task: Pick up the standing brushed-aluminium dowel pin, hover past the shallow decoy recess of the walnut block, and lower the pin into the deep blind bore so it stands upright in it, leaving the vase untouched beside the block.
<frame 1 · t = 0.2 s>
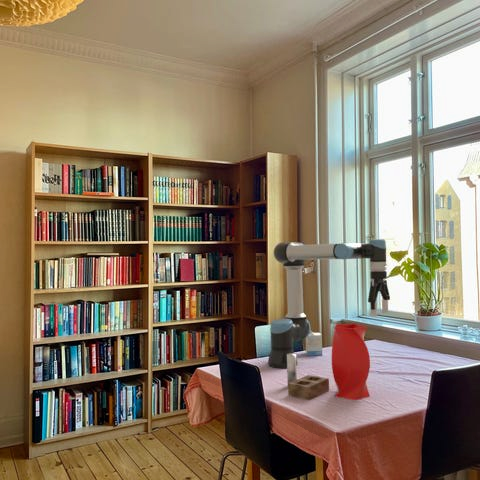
hand: (379, 314, 222), 28 cm above the table, fingers open, 13 cm apart
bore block: (309, 392, 193), on the table
vase: (350, 394, 190), on the table
pin: (292, 386, 203), on the table
ink box: (314, 354, 267), on the table
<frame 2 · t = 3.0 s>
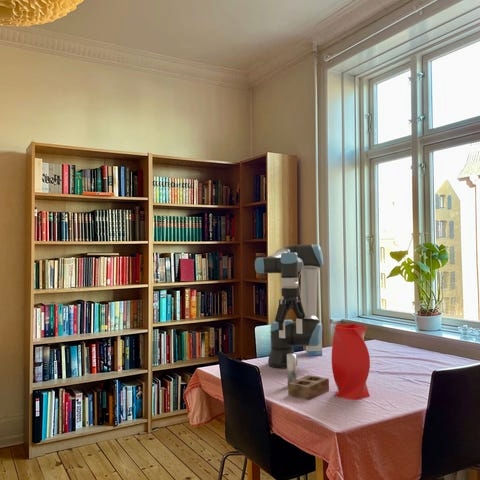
hand: (291, 335, 203), 22 cm above the table, fingers open, 13 cm apart
nothing on the table moved.
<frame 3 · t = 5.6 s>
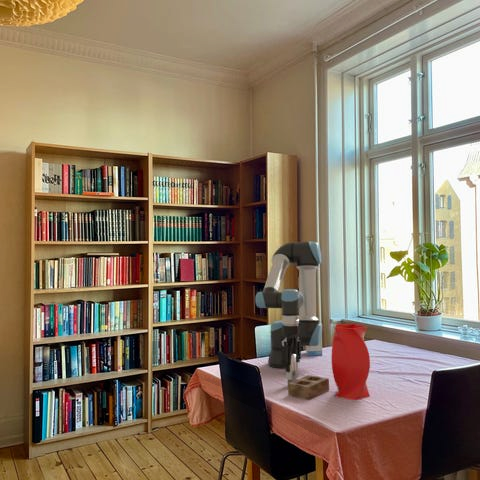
hand: (292, 377, 203), 4 cm above the table, fingers closed on pin, 4 cm apart
pin: (292, 386, 203), on the table, touching gripper
everything else where it was.
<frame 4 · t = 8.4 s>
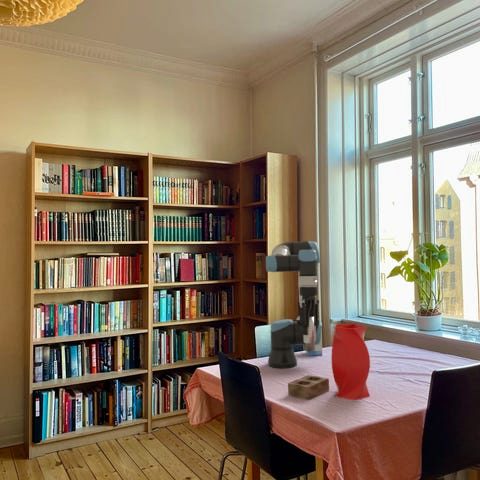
hand: (309, 341, 194), 21 cm above the table, fingers closed on pin, 4 cm apart
pin: (310, 350, 194), point 17 cm above the table, touching gripper
everything else where it was.
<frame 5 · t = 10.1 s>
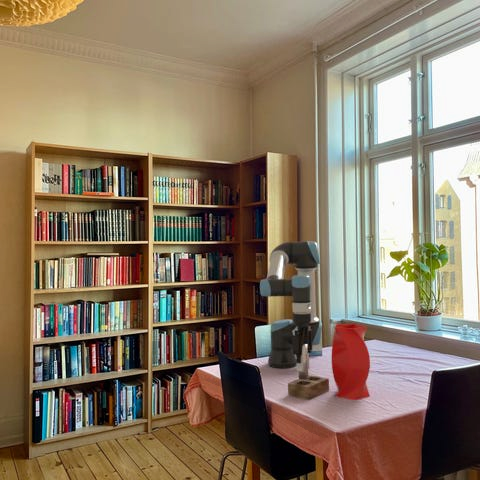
hand: (303, 369, 190), 10 cm above the table, fingers closed on pin, 4 cm apart
pin: (303, 378, 190), point 7 cm above the table, touching gripper
everything else where it was.
when the fingers open (7 cm above the table, at t = 11.3 s): pin drops 2 cm, resting on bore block.
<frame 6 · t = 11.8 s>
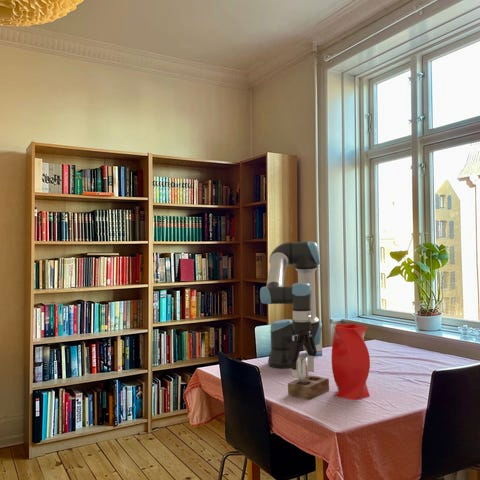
hand: (303, 374, 190), 8 cm above the table, fingers open, 11 cm apart
pin: (303, 392, 190), point 1 cm above the table, touching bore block
everything else where it was.
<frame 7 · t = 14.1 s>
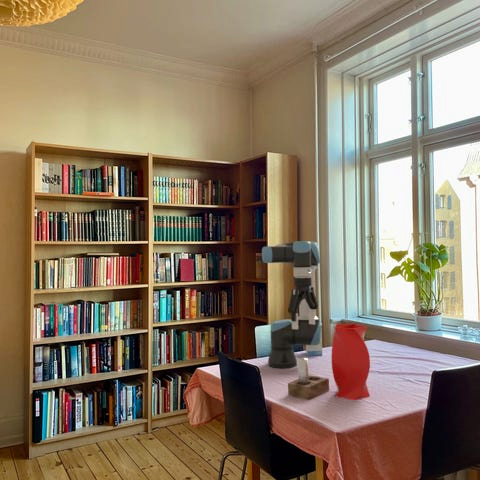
hand: (303, 326, 198), 27 cm above the table, fingers open, 13 cm apart
nothing on the table moved.
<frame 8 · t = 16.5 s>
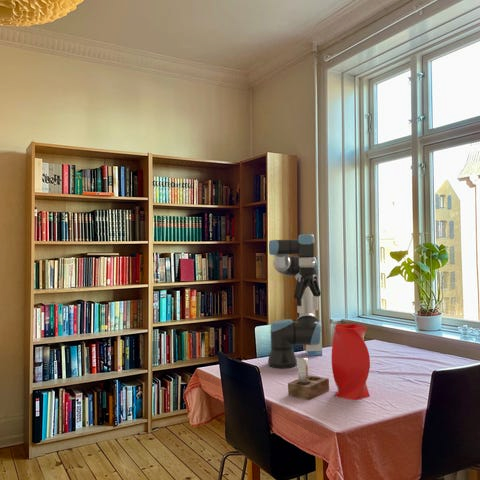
hand: (308, 311, 219), 31 cm above the table, fingers open, 13 cm apart
nothing on the table moved.
at the end: pin 0.0 cm from the target spot on the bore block, point 1.0 cm above the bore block's base; pin tilted 0°; the gripper is holding nothing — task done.
